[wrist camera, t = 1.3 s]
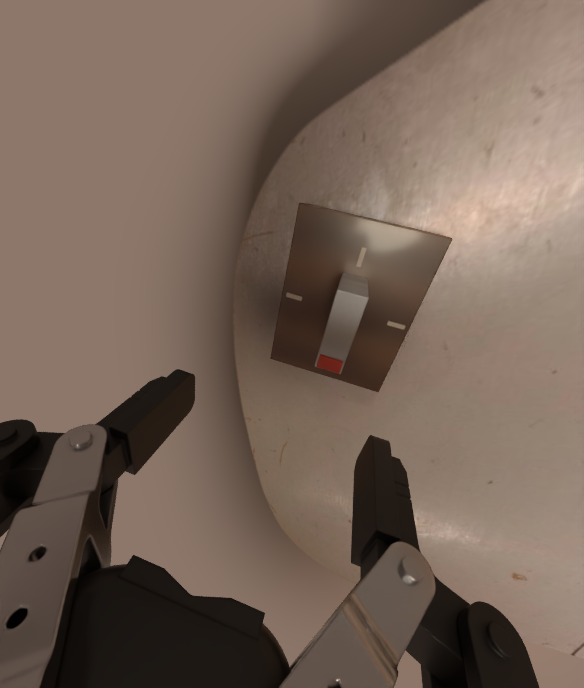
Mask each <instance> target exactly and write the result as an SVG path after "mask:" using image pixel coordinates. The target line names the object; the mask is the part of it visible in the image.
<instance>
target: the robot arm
mask: <svg viewBox="0 0 584 688" xmlns="http://www.w3.org/2000/svg"><path fill="white" fill-rule="evenodd" d="M194 401H195V376H194V375H193V374H190V373H188V372H185V371H182V370H178V369H177V370H175V371H174V372H172V373H171V374H170V375H169V376H168V377H160V378H157V379H155V380H152V381H150V382H148V383H147V384H146V385H145V386H143V387H142V388H141V389H140V391H137V392H136V393H135V394H133V395H132V397H131V398H128V399H127V400H126V401H125V402H124V403H122V404H121V405H120V406H118V407H117V408H116V409H115V410H113V411H112V412H111V413H110V414H109V415H107V416H106V417H105V418H103V419H102V420H101V421H100V422H98V423H97V424H95V425H93V424H92V425H83V426H79V427H76V428H74V429H71V430H69V431H68V432H66V433H50V432H49V433H48V432H37V431H36V428H35V426H34V424H33V423H32V422H30V421H28V420H11V421H6V422H2V423H0V537H1V536H2V535H3V534H4V533H5V532H6V531H7V530H8V529H9V531H8V533H7V535H6V538H5V540H4V542H3V545H2V547H1V550H0V688H394V686H395V683H396V680H397V677H398V670H397V666H398V663H399V661H400V659H401V657H402V655H403V653H404V651H405V650H406V651H407V652H408V653H409V654H410V655H411V656H412V657H413V658H415V659H416V660H417V661H418V662H419V663H420V664H421V671H422V683H423V688H539V685H538V682H537V679H536V676H535V673H534V670H533V667H532V664H531V661H530V658H529V655H528V653H527V650H526V647H525V645H524V643H523V641H522V639H521V637H520V636H519V634H518V632H517V631H516V629H515V628H514V627H513V625H512V624H511V623H510V622H509V620H508V619H507V618H506V617H505V616H504V615H503V614H502V613H501V612H500V611H499V610H497V609H496V608H495V607H493V606H491V605H490V604H488V603H485V602H480V601H479V602H475V603H473V604H471V605H470V604H469V603H467V602H466V601H465V600H463V599H462V598H461V597H460V596H458V595H457V594H456V593H454V592H453V591H452V590H450V589H449V588H448V587H447V586H445V585H444V584H443V583H442V582H440V581H439V580H438V579H437V578H436V577H435V576H434V574H433V572H432V570H431V567H430V565H429V564H428V562H427V560H426V559H425V558H424V556H423V555H422V554H421V552H420V549H419V545H418V539H417V533H416V527H415V521H414V515H413V509H412V503H411V500H410V498H411V496H410V490H409V488H408V487H409V484H408V478H407V472H406V470H405V468H404V467H403V465H402V463H401V461H400V459H398V458H395V457H392V456H391V447H390V443H389V441H386V440H384V439H381V438H378V437H375V436H372V435H370V436H369V437H368V439H367V441H366V443H365V445H364V447H363V449H362V450H361V452H360V454H359V456H358V458H357V461H356V465H355V470H354V492H353V520H352V547H351V563H352V564H355V565H357V566H360V567H361V579H360V581H359V582H358V583H357V584H356V586H355V587H354V588H353V589H352V591H351V592H350V593H349V594H348V595H347V597H346V598H345V599H344V601H343V602H342V603H341V604H340V606H339V607H338V608H337V609H336V610H335V612H334V613H333V614H332V616H331V617H330V618H329V619H328V620H327V622H326V623H325V624H324V625H323V627H322V628H321V629H320V630H319V631H318V633H317V634H316V635H315V636H314V637H313V639H312V640H311V641H310V642H309V644H308V645H307V646H306V647H305V648H304V650H303V651H302V652H301V653H300V655H299V656H298V657H297V659H296V660H295V661H294V662H293V663H292V665H291V666H290V667H289V664H288V661H287V659H286V657H285V654H284V652H283V650H282V648H281V646H280V645H279V643H278V641H277V640H276V638H275V637H274V635H273V634H272V633H271V631H270V630H269V629H268V628H267V627H266V626H265V625H264V624H263V619H264V615H265V613H264V612H261V611H259V610H257V609H255V608H252V607H250V606H248V605H246V604H243V603H241V602H239V601H236V600H234V599H232V598H221V597H203V596H192V595H190V594H189V593H188V592H187V591H186V590H185V589H184V588H183V587H182V586H181V585H180V584H179V583H178V582H177V581H176V580H175V579H174V578H173V577H172V576H171V575H170V574H169V573H168V572H167V571H166V570H165V569H164V568H162V567H160V566H157V565H155V564H153V563H151V562H148V561H146V560H144V559H142V558H139V557H137V556H135V555H133V556H132V558H131V559H130V561H129V562H128V564H125V565H124V564H123V565H114V566H110V562H111V529H112V522H113V514H114V508H115V500H116V493H117V487H118V478H119V477H120V476H121V475H122V474H123V473H124V472H125V471H126V472H129V473H131V474H134V475H135V474H136V473H137V472H138V471H139V470H140V469H141V468H142V466H143V465H144V464H145V463H146V462H147V460H148V459H149V458H150V457H151V456H152V455H153V454H154V452H155V451H156V450H157V449H158V448H159V447H160V446H161V444H162V443H163V442H164V441H165V440H166V439H167V437H168V436H169V435H170V434H171V433H172V432H173V431H174V429H175V428H176V427H177V426H178V425H179V423H180V422H181V421H182V420H183V419H184V418H185V417H186V416H187V414H188V413H189V412H190V411H191V409H192V407H193V404H194Z"/></svg>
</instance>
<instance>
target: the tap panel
mask: <svg viewBox="0 0 584 688" xmlns="http://www.w3.org/2000/svg"><path fill="white" fill-rule="evenodd" d="M451 241H452V238H449V237H446V236H443V235H440V234H435V233H431V232H427V231H422V230H418V229H414V228H410V227H405V226H401V225H397V224H392V223H388V222H384V221H379V220H375V219H371V218H366V217H362V216H358V215H354V214H349V213H345V212H341V211H336V210H332V209H328V208H323V207H319V206H315V205H311V204H305V203H299V207H298V212H297V218H296V223H295V229H294V234H293V239H292V245H291V250H290V256H289V261H288V266H287V272H286V277H285V282H284V288H283V293H282V299H281V304H280V309H279V315H278V320H277V326H276V331H275V336H274V342H273V347H272V353H271V359H274V360H277V361H280V362H283V363H286V364H290V365H293V366H296V367H299V368H303V369H306V370H309V371H312V372H315V373H319V374H322V375H325V376H328V377H331V378H335V379H338V380H341V381H344V382H347V383H351V384H354V385H357V386H360V387H363V388H367V389H370V390H373V391H376V392H379V390H380V388H381V386H382V384H383V381H384V379H385V377H386V375H387V373H388V371H389V369H390V367H391V365H392V363H393V361H394V359H395V357H396V355H397V353H398V350H399V348H400V346H401V344H402V342H403V340H404V338H405V336H406V334H407V332H408V330H409V328H410V326H411V324H412V321H413V319H414V317H415V315H416V313H417V311H418V309H419V307H420V305H421V303H422V301H423V299H424V297H425V295H426V293H427V290H428V288H429V286H430V284H431V282H432V280H433V278H434V276H435V274H436V272H437V270H438V268H439V266H440V264H441V262H442V259H443V257H444V255H445V253H446V251H447V249H448V247H449V245H450V243H451ZM343 273H347V274H350V275H354V276H358V277H362V278H366V279H367V280H368V297H369V299H368V302H367V304H366V307H365V310H364V312H363V315H362V318H361V321H360V323H359V326H358V329H357V331H356V334H355V337H354V340H353V342H352V345H351V348H350V350H349V353H348V356H347V359H346V361H345V364H344V367H343V369H342V372H341V374H338V373H334V372H331V371H328V370H325V369H321V368H318V367H315V362H316V359H317V356H318V352H319V349H320V346H321V342H322V339H323V335H324V332H325V329H326V325H327V322H328V319H329V315H330V312H331V308H332V305H333V302H334V298H335V295H336V292H337V288H338V285H339V282H340V279H341V276H342V274H343Z"/></svg>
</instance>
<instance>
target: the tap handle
mask: <svg viewBox="0 0 584 688" xmlns="http://www.w3.org/2000/svg"><path fill="white" fill-rule="evenodd" d="M368 299H369V297H368V280H367V279H366V278H362V277H358V276H354V275H350V274H347V273H343V274H342V276H341V279H340V282H339V285H338V288H337V292H336V295H335V298H334V302H333V305H332V308H331V312H330V315H329V319H328V322H327V325H326V329H325V332H324V335H323V339H322V342H321V346H320V349H319V352H318V356H317V359H316V362H315V367H318V368H321V369H325V370H328V371H331V372H334V373H338V374H341V372H342V369H343V367H344V364H345V361H346V359H347V356H348V353H349V350H350V348H351V345H352V342H353V340H354V337H355V334H356V331H357V329H358V326H359V323H360V321H361V318H362V315H363V312H364V310H365V307H366V304H367V302H368Z"/></svg>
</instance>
